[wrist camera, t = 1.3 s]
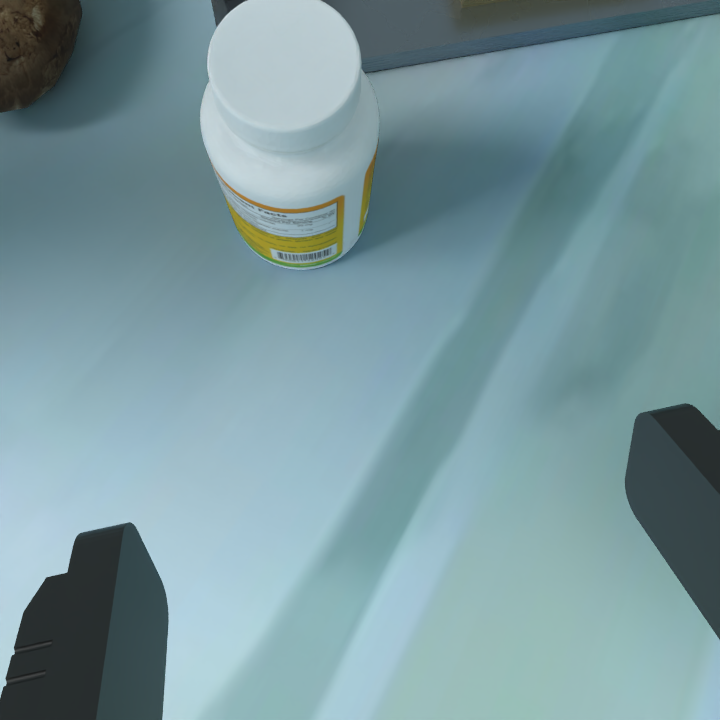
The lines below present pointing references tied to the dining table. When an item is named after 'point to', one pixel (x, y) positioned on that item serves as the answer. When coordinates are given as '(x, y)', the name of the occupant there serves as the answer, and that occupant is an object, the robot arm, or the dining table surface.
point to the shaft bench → (485, 24)
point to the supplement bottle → (291, 129)
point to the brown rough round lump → (34, 47)
